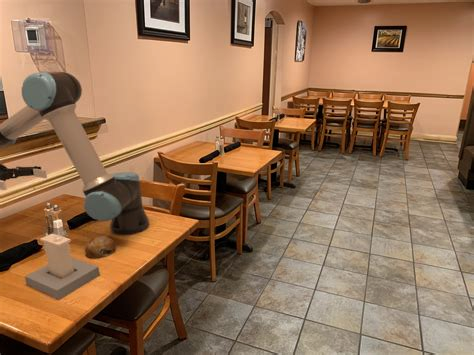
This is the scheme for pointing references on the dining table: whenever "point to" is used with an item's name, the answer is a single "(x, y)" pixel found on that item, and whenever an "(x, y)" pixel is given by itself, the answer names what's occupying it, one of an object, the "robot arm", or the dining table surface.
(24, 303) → the dining table surface
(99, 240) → the bread roll
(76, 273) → the frame
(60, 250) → the cream block
